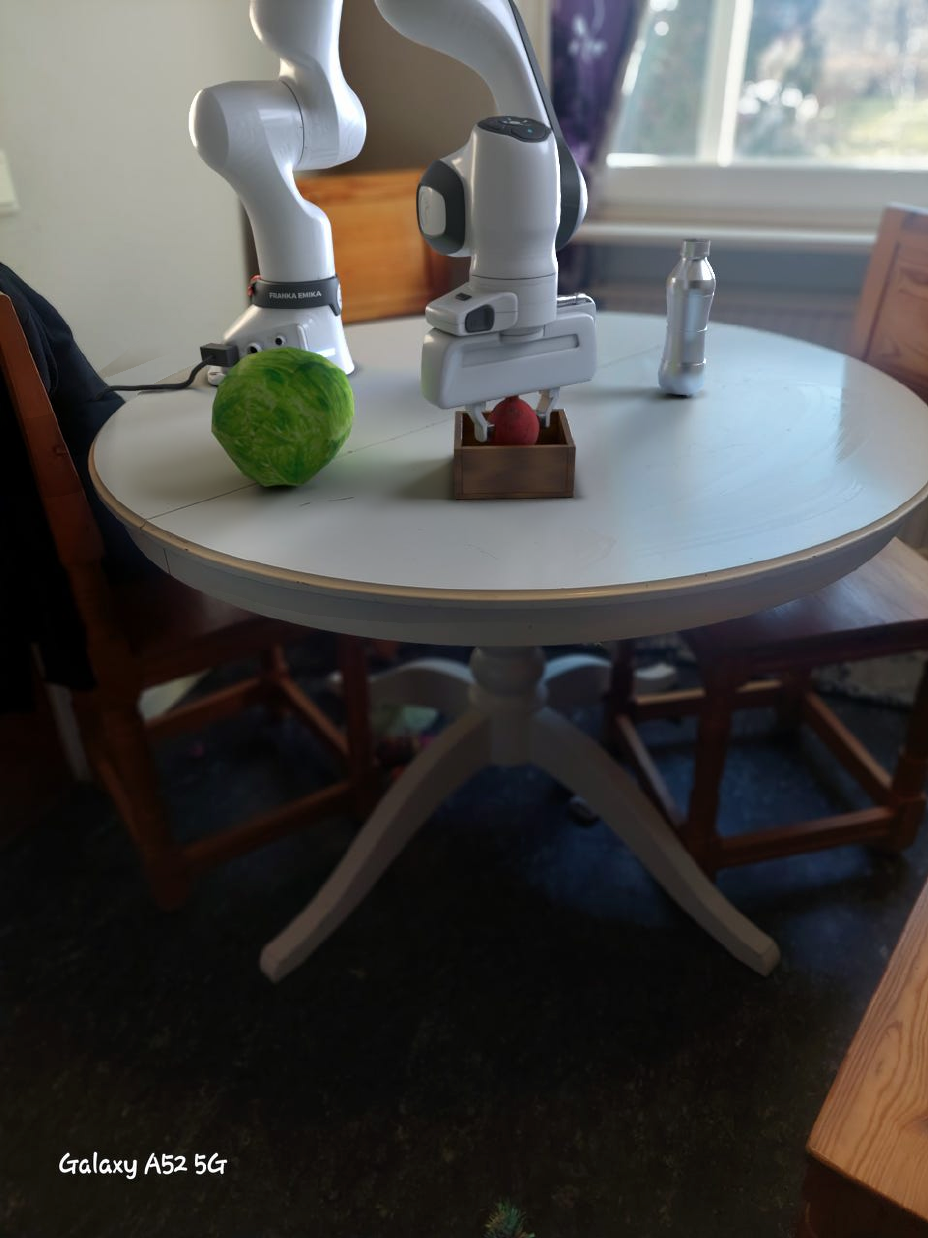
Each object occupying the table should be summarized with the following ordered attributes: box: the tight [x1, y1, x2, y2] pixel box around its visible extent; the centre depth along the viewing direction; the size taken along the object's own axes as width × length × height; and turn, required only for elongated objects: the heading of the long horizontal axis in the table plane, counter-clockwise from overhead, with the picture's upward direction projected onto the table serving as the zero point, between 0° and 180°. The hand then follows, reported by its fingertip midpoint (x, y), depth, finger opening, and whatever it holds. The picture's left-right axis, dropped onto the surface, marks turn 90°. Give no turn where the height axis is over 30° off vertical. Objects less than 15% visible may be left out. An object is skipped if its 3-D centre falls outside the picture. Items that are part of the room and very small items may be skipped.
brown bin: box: [453, 408, 577, 500], centre depth 96 cm, size 13×13×6 cm
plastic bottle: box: [657, 237, 717, 396], centre depth 118 cm, size 6×7×20 cm
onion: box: [487, 395, 539, 446], centre depth 95 cm, size 6×6×8 cm
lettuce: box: [210, 347, 356, 488], centre depth 99 cm, size 15×22×15 cm
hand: (512, 433), depth 95 cm, fingers closed on onion, 6 cm apart
